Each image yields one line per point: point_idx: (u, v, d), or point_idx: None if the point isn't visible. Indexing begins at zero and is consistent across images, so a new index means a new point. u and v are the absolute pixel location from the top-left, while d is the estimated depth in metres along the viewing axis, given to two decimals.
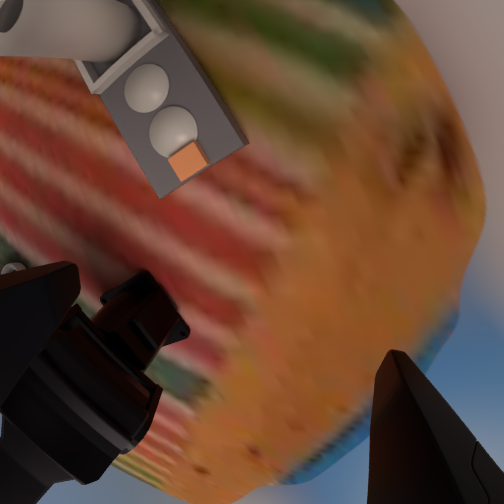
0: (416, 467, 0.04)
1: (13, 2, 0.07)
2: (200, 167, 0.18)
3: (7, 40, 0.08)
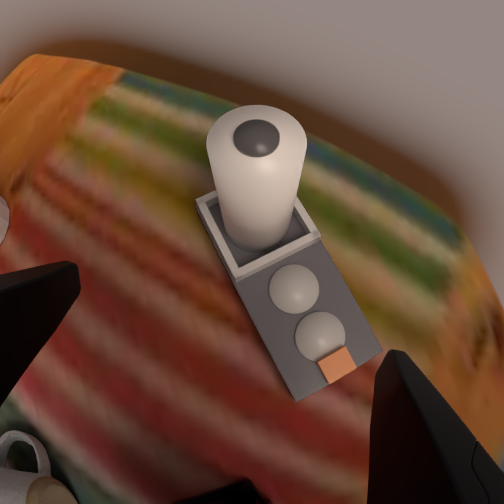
0: (416, 467, 0.04)
1: (258, 129, 0.14)
2: (350, 370, 0.18)
3: (254, 167, 0.13)
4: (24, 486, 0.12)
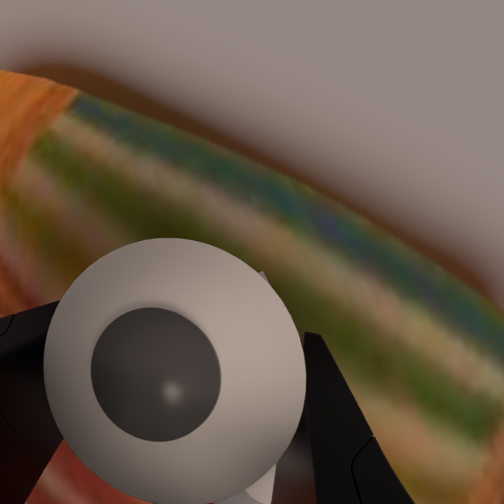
0: (297, 455, 0.04)
1: (163, 336, 0.05)
2: None
3: (148, 466, 0.04)
4: None
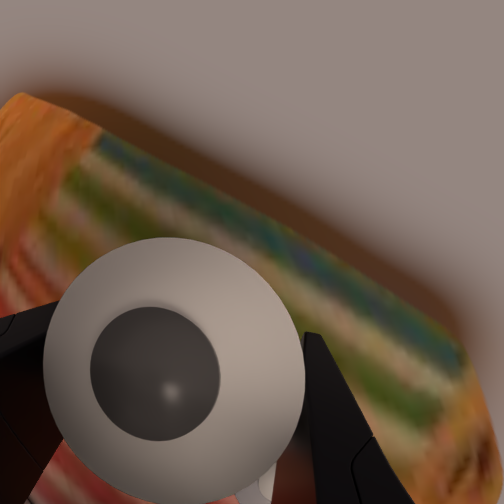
0: (297, 455, 0.04)
1: (163, 336, 0.05)
2: None
3: (147, 465, 0.04)
4: None
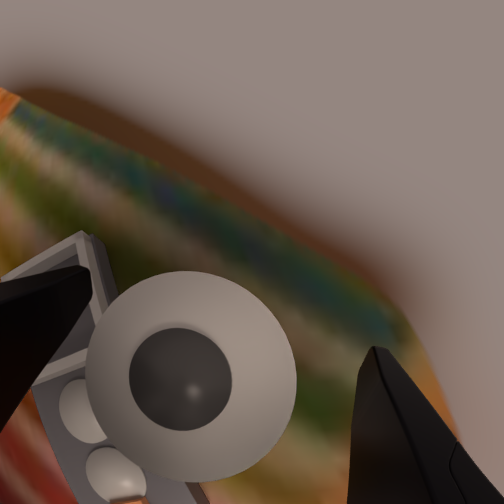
0: (392, 466, 0.04)
1: (186, 349, 0.06)
2: None
3: (174, 451, 0.05)
4: None
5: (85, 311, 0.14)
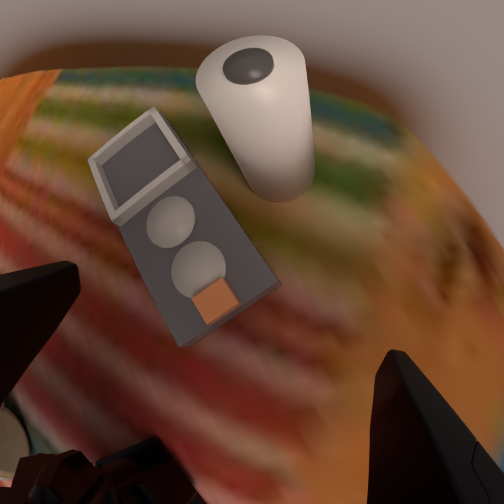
0: (416, 467, 0.04)
1: (249, 57, 0.11)
2: (230, 306, 0.16)
3: (250, 93, 0.11)
4: None
5: (163, 155, 0.20)
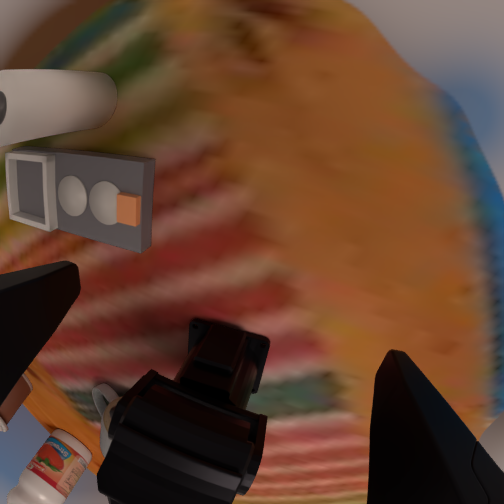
0: (416, 467, 0.04)
1: None
2: (134, 204, 0.20)
3: (8, 121, 0.12)
4: (102, 419, 0.27)
5: (36, 168, 0.21)
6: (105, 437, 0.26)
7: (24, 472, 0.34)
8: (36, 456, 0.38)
